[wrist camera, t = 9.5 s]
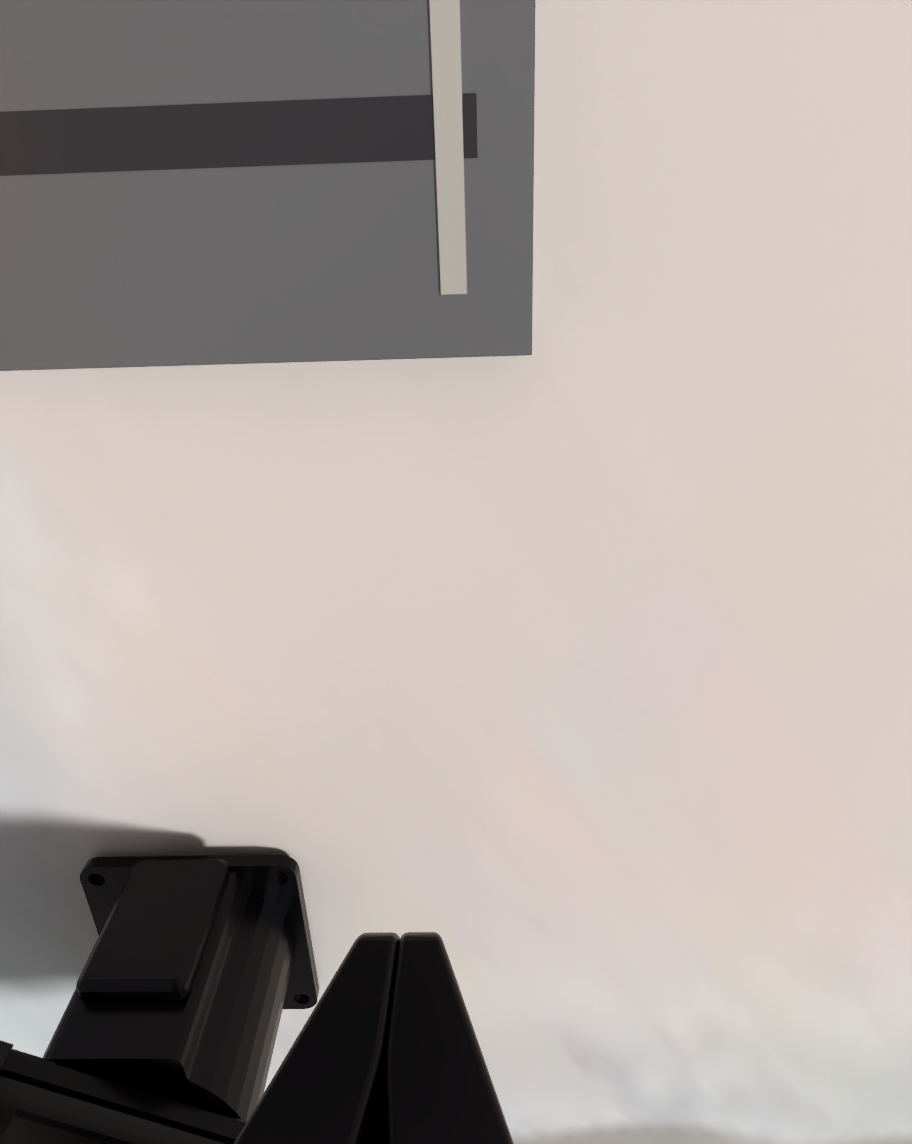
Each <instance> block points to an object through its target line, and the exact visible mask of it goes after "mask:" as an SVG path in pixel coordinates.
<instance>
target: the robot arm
mask: <svg viewBox="0 0 912 1144" xmlns="http://www.w3.org/2000/svg"><path fill="white" fill-rule="evenodd" d="M279 872H283V873H284V874H283V873H279ZM80 881H81V884H82V887H83V889H84V892H85V895H86V898H87V901H88V904H89V907H90V910H91V913H92V916H93V919H94V922H95V925H96V928H97V931H98V934H99V937H98V940H97V942H96V944H95V946H94V948H93V950H92V952H91V954H90V956H89V958H88V960H87V962H86V964H85V966H84V968H83V971H82V973H81V975H80V977H79V979H78V981H77V986H76V990H75V992H74V994H73V996H72V998H71V1000H70V1002H69V1004H68V1006H67V1008H66V1010H65V1012H64V1014H63V1016H62V1019H61V1021H60V1023H59V1025H58V1027H57V1029H56V1031H55V1033H54V1035H53V1037H52V1039H51V1041H50V1043H49V1046H48V1048H47V1050H46V1052H45V1054H44V1056H43V1058H40V1057H37V1056H33V1055H30V1054H27V1053H24V1052H20V1051H17V1050H14V1049H12V1047H13V1044H10V1043H7V1042H4V1041H0V1144H514V1143H513V1141H512V1138H511V1135H510V1132H509V1129H508V1126H507V1123H506V1121H505V1118H504V1115H503V1112H502V1109H501V1106H500V1103H499V1101H498V1098H497V1095H496V1092H495V1089H494V1086H493V1083H492V1081H491V1078H490V1075H489V1072H488V1069H487V1066H486V1063H485V1061H484V1058H483V1055H482V1052H481V1049H480V1046H479V1043H478V1040H477V1038H476V1035H475V1032H474V1029H473V1026H472V1023H471V1020H470V1018H469V1015H468V1012H467V1009H466V1006H465V1003H464V1000H463V998H462V995H461V992H460V989H459V986H458V983H457V980H456V978H455V975H454V972H453V969H452V966H451V963H450V960H449V958H448V955H447V952H446V949H445V946H444V943H443V941H442V938H441V937H440V935H439V934H437V933H435V932H408V933H405V934H403V935H402V936H401V938H399V936H398V935H397V934H396V933H364V934H362V935H360V936H359V937H358V938H357V939H356V941H355V942H354V944H353V945H352V947H351V949H350V950H349V952H348V954H347V955H346V957H345V959H344V960H343V962H342V964H341V965H340V967H339V969H338V970H337V972H336V974H335V975H334V977H333V979H332V981H331V982H330V984H329V986H328V987H327V989H326V991H325V992H324V994H323V996H322V997H321V999H320V1001H319V1002H318V1004H317V1006H316V1007H315V1009H314V1011H313V1012H312V1014H311V1016H310V1017H309V1019H308V1021H307V1022H306V1024H305V1026H304V1027H303V1029H302V1031H301V1032H300V1034H299V1036H298V1037H297V1039H296V1041H295V1042H294V1044H293V1046H292V1047H291V1049H290V1051H289V1052H288V1054H287V1056H286V1057H285V1059H284V1061H283V1062H282V1064H281V1066H280V1067H279V1069H278V1071H277V1072H276V1074H275V1076H274V1077H273V1079H272V1081H271V1082H270V1084H269V1086H268V1087H267V1089H266V1091H265V1092H264V1088H265V1084H266V1080H267V1075H268V1071H269V1066H270V1062H271V1057H272V1053H273V1048H274V1044H275V1040H276V1035H277V1031H278V1026H279V1022H280V1017H281V1013H282V1009H306V1008H310V1007H313V1006H314V1005H315V1004H316V1003H317V997H318V992H319V984H318V978H317V972H316V966H315V960H314V954H313V948H312V942H311V936H310V930H309V924H308V918H307V912H306V906H305V900H304V894H303V888H302V882H301V876H300V870H299V866H298V864H297V862H296V861H295V860H294V859H292V858H290V857H288V856H283V855H248V856H158V857H96V858H92V859H90V860H89V861H88V862H87V863H86V865H85V867H84V869H83V871H82V872H81V874H80ZM263 1093H264V1094H263Z"/></svg>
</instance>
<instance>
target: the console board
mask: <svg viewBox="0 0 912 1144" xmlns="http://www.w3.org/2000/svg"><path fill="white" fill-rule="evenodd" d="M534 69H535V0H0V371H12V370H45V369H79V368H113V367H147V366H180V365H214V364H248V363H281V362H315V361H349V360H382V359H416V358H450V357H483V356H517V355H532V278H533V174H534Z"/></svg>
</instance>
